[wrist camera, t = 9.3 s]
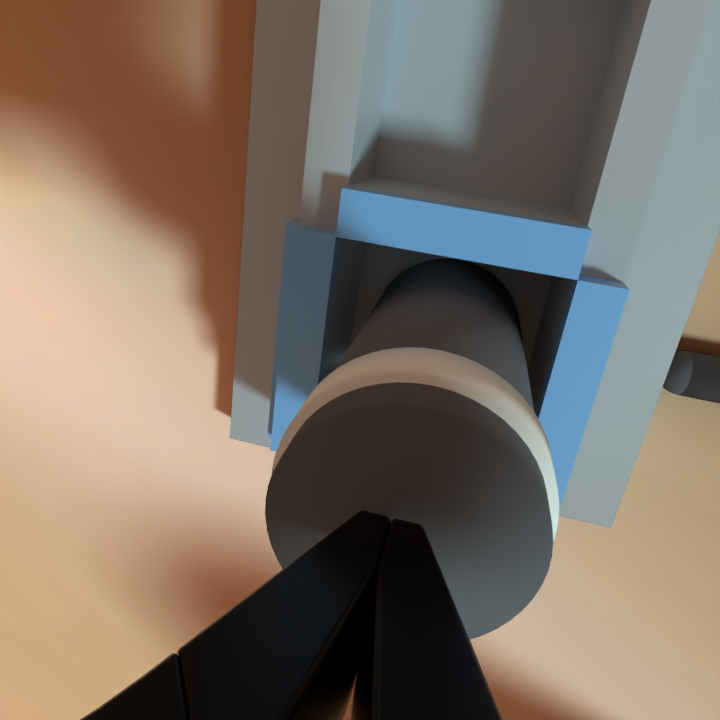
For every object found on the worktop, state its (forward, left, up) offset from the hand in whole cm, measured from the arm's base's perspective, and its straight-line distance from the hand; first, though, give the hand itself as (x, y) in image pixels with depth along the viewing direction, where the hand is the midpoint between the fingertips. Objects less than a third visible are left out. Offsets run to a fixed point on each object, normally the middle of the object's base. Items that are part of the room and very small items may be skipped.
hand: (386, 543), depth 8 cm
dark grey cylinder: (0, 0, -9) cm, 9 cm away
